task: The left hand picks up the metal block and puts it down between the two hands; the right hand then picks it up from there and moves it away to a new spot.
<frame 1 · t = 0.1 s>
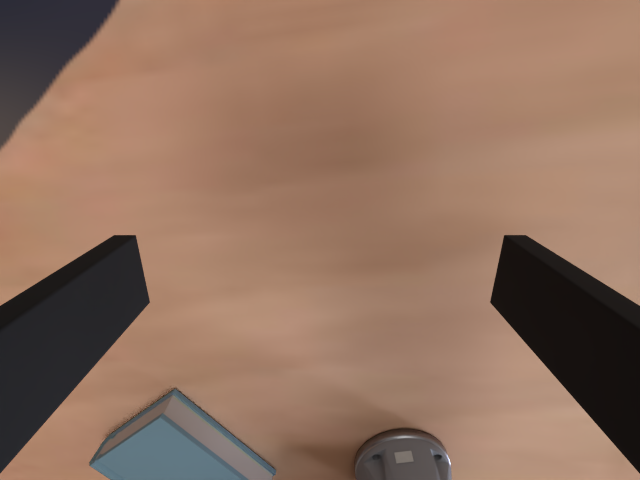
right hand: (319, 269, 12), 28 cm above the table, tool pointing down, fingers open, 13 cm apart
book: (193, 453, 56), on the table
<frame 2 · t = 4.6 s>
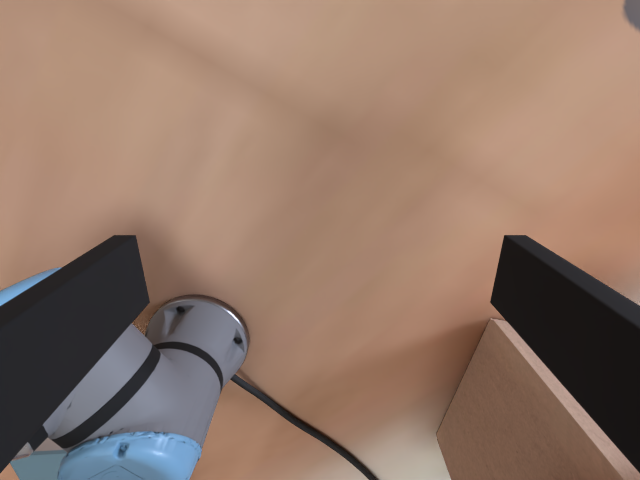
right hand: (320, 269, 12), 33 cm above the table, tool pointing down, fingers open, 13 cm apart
book: (107, 456, 63), on the table
box: (511, 388, 57), on the table
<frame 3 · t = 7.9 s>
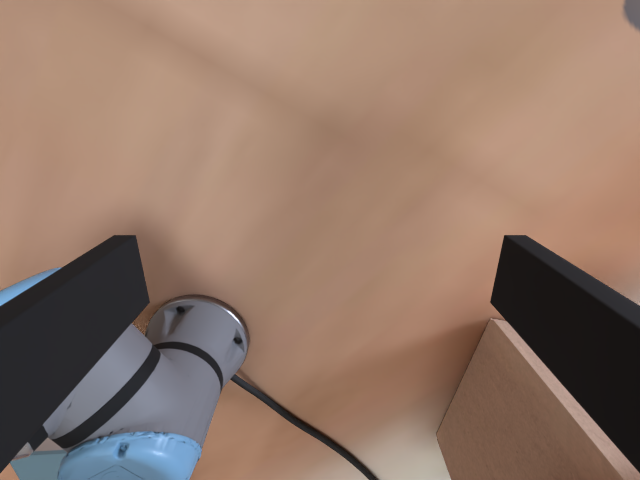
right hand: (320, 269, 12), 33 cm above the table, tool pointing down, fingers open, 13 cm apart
book: (107, 456, 63), on the table
box: (511, 388, 57), on the table
when the left hand's fingers open (6 cm above the table, at t = 11.6 s): block drops 1 cm, on the table.
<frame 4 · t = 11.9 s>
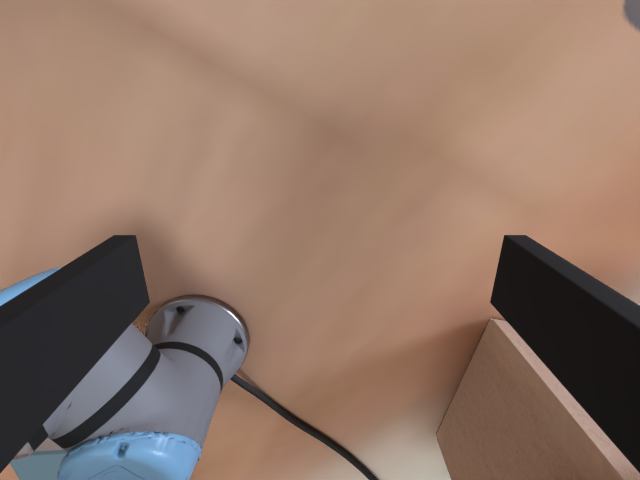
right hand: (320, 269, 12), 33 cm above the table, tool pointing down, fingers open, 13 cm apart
book: (107, 456, 63), on the table
box: (511, 388, 57), on the table
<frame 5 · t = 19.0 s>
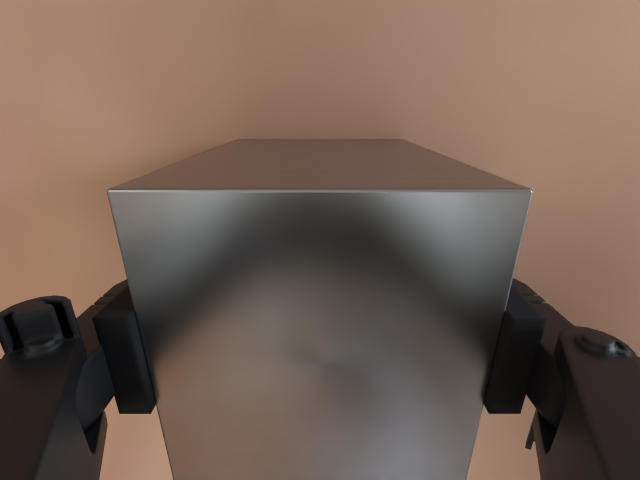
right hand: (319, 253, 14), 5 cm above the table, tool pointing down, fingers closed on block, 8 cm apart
block: (320, 220, 18), on the table, touching right hand
when the right hand's fingers open (6 cm above the table, at t = 26.1 s): block drops 1 cm, on the table.
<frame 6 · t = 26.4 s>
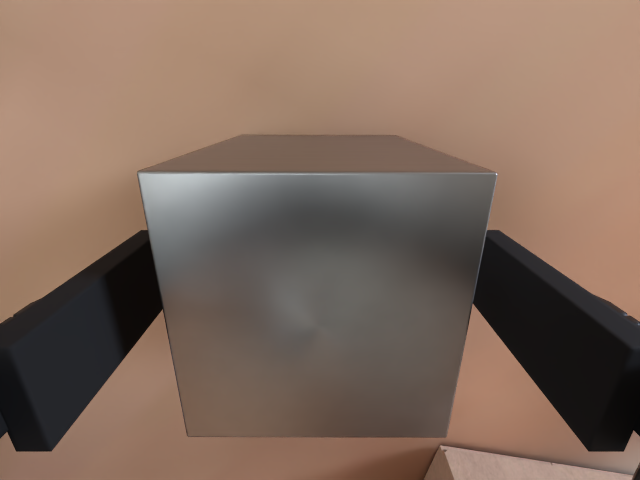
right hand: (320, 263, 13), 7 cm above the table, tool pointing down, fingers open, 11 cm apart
block: (318, 211, 19), on the table
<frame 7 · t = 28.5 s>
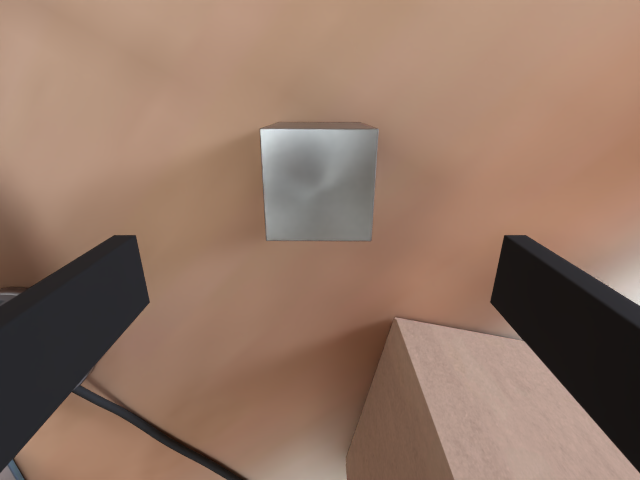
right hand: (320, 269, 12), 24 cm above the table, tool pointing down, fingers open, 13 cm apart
block: (319, 165, 35), on the table
box: (431, 403, 47), on the table
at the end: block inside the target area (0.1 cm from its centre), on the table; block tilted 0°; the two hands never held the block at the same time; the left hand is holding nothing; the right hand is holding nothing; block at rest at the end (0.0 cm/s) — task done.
